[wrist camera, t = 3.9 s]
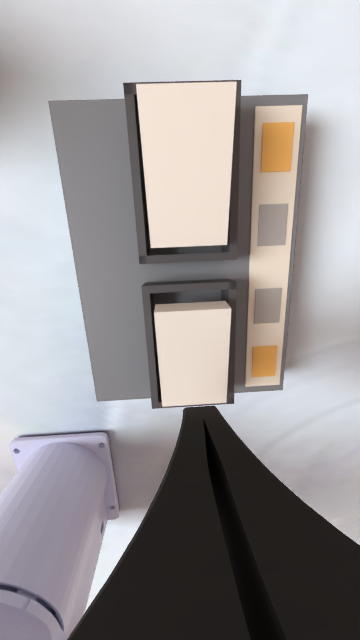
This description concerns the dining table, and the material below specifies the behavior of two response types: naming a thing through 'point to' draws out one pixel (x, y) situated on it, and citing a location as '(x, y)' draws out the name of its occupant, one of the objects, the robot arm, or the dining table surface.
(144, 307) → the switch panel
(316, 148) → the dining table surface
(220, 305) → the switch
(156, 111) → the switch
